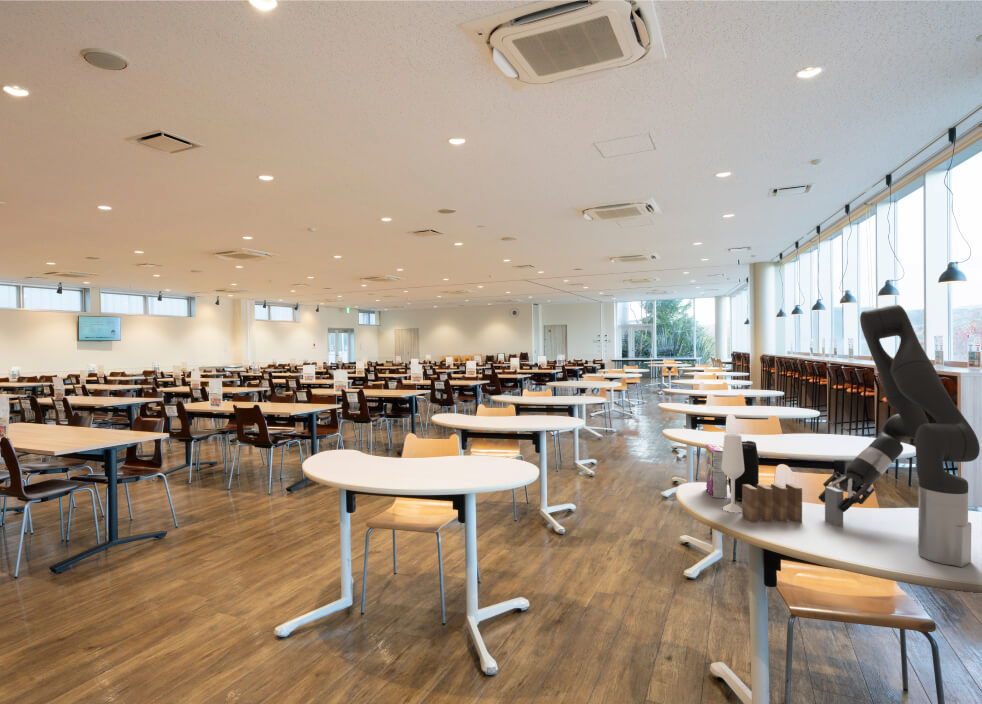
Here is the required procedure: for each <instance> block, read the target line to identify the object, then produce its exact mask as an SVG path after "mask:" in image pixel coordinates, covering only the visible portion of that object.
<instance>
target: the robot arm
mask: <svg viewBox="0 0 982 704" xmlns="http://www.w3.org/2000/svg"><path fill="white" fill-rule="evenodd" d="M859 320H860V326H861V328H860V329H861V331H862V333H863V336H864V339H865V341H866V344H867V347H868V350H869V352H870V355H871V357H872V360H873V361H874V365H875V367H876V370H877V371H878V374H879V377H880V381H881V384H882V388H883V391H884V392H883V393H884V397H885V400H886V402H887V405H889V407H891V408H893V409H895V410H896V411H897V414H893V415H892V416H890V417H889V418H888V419H887V420H886V421H885V422H884V424H883V426H882V427H881V430H880V431H879V434H878V435H877V437H876V438H875V439H874V440H873V441H872V442H871V443H870V444H869V445H868V446H867V447H866V448H864V449H863V450H862V451H861V452H860V453H859V454H858V455H857V456H856V457H855V458H854V459H853V460H852V461H851V462H850V463H849V464H848V465H847V466H846V467H845V468H846V469H845V470H846V473H844V474H841V473H840V472H839V471H835V472H834V473H833V474H832V475H831V476H830V477H828V478H827V479H826V481H825V482H823V486H824V488H825V487H834V488H836V489H839V490H841V491H843V492H844V493H845V492H846V493H847V497H845V498H843V501H842V502H841V503H840V504H839V505H838V508H839V509H840V510H841V511H842V512H843V513H845V512H846V511H847V510H849V509H850V508H851V507H852V506H853V505H854V504H855V505H856V504H859V505H863V504H864V502H865V501H867V499H868V498H869V497H870V496H871V495H872V493H874V492H875V488H874V487H873V486H872V485H874V483H876V481H877V480H879V478H880V477H881V476H882V475H883V474H884V473H885V472H887V470H888V468H890V466H891V465H892V463H894V461H896V459H897V458H899V456H901V454H902V453H903V452H904V446H903V443H901V442H902V441H903V440H904V439H912V440H914V443H915V458H916V459H915V460H916V461H915V463H916V473H917V478H918V518H917V519H918V521H917V522H918V523H917V525H918V533H917V534H918V535H917V536H918V537H917V539H918V540H917V541H918V542H917V543H918V544H917V549H918V550H917V551H918V553H917V554H918V556H920V557H922V558H924V559H926V560H929V561H931V562H935V563H938V564H942V565H943V564H944V565H948V566H949V565H950V566H956V567H958V568H959V567H960V568H963V567H964V566H966V565H967V564H969V563H971V562H972V522H969V482H968V480H967V479H965V478H963V477H961V476H958V475H956V474H952V473H950V472H948V471H946V470H945V466H944V462H947V463H948V462H949V463H951V462H952V463H968V462H970V463H971V462H973V461H975V460H977V458H978V457H979V456H980V451H981V449H980V441H979V440H978V437H977V435H976V433H975V431H974V429H973V428H972V426H971V425H970V424H969V421H968V420H967V419H966V418H965V417H964V415H963V414H962V412H961V411H960V410H959V408H958V407H957V405H956V404H955V402H954V401H953V399H952V398H951V396H950V395H949V393H948V391H947V389H946V388H945V386H944V384H943V382H942V380H941V377H940V376H939V374H938V372H937V370H936V368H935V366H934V365H933V364H932V362H931V360H930V359H929V357H928V355H927V353H926V352H925V350H924V349H923V347H922V345H921V343H920V341H919V339H918V337H917V334H916V331H915V330H914V327H913V325H912V323H911V320H910V318H909V316H908V313H907V311H906V310H905V309H904V308H903V307H902V305H900V304H891V305H890V304H889V305H884V306H880V307H875V308H870V309H865V310H863V311H861V313H860V317H859ZM896 336H897V337H899V338H900V343H899V345H898V348H897V351H896V353H895V355H894V357H893V358H892V357H891V356H890V355H889V353H888V352H887V351H886V350H885V349H884V347H883V345H882V343H881V341H880V340H881V339H885V338H891V337H896ZM925 412H926V413H927V414H929V415H930V416H931V417H932V418H933V419H934V421H935V423H933V422H931V423H930V422H929V418H928V416H927V415H926V413H925ZM861 496H862V497H861ZM818 500H819V501H820V502H822V503H824V504H825V489H824V490H823V491H822V492H821V493H820V494H819V496H818Z"/></svg>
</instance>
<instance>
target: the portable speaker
mask: <svg viewBox="0 0 982 704" xmlns="http://www.w3.org/2000/svg"><path fill="white" fill-rule="evenodd" d="M742 450H743V460H744V472H743V474H742V475H741V476H740V477H738V478H737V479H735V500H738V501H739V500H742V484H749V485H751V486H753V487H755V488H757V484H760V482H759V478H760V477H759V474H760V473H759V472H760V471H759V470H760V469H759V467H760V466H759V463H760V461H759V454H758V448H757V443H756V442H755V441H752V440H746V441H742ZM727 481H728V486H729V487H728V488H729V493H730V494H731V479H730V478H728V477H727Z"/></svg>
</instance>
